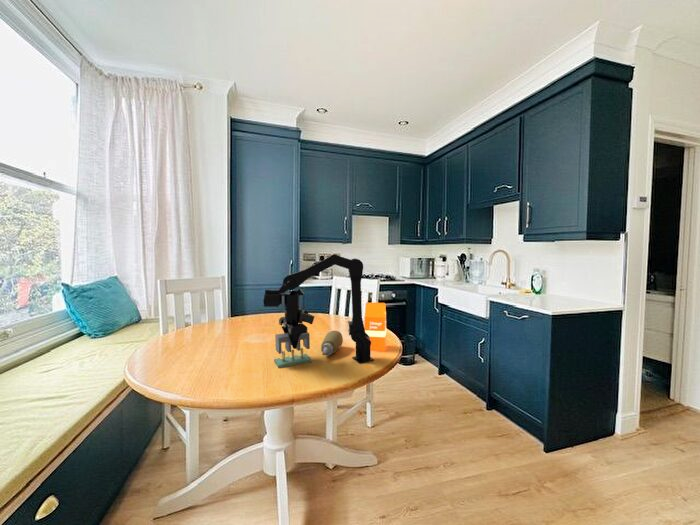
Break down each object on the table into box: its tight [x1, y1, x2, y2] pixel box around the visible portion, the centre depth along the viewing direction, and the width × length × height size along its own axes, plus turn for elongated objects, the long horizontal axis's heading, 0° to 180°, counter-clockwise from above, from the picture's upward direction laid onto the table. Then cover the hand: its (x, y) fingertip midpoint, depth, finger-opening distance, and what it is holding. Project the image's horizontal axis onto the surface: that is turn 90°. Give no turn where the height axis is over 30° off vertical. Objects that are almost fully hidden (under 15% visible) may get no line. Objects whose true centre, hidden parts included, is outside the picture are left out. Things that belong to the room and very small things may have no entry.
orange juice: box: [363, 302, 387, 352], centre depth 131 cm, size 8×9×20 cm
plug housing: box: [275, 331, 311, 355], centre depth 116 cm, size 12×5×6 cm, turn 117°
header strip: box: [273, 347, 313, 369], centre depth 116 cm, size 13×7×4 cm, turn 117°
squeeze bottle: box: [320, 330, 344, 356], centre depth 125 cm, size 8×8×18 cm
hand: (292, 346), depth 116 cm, fingers closed on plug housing, 5 cm apart
